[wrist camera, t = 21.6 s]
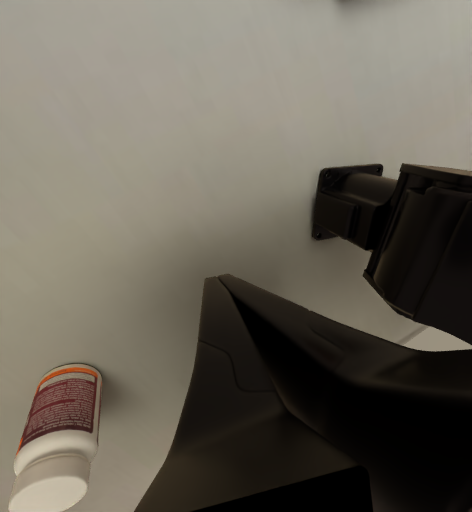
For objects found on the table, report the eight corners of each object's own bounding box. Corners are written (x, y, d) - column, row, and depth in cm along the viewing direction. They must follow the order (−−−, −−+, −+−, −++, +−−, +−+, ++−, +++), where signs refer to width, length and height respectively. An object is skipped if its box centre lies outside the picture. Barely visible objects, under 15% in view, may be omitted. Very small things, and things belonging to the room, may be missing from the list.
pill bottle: (25, 378, 21) (-24, 507, 14) (86, 353, 22) (70, 461, 15) (57, 410, 24) (30, 533, 17) (112, 386, 25) (107, 492, 18)
